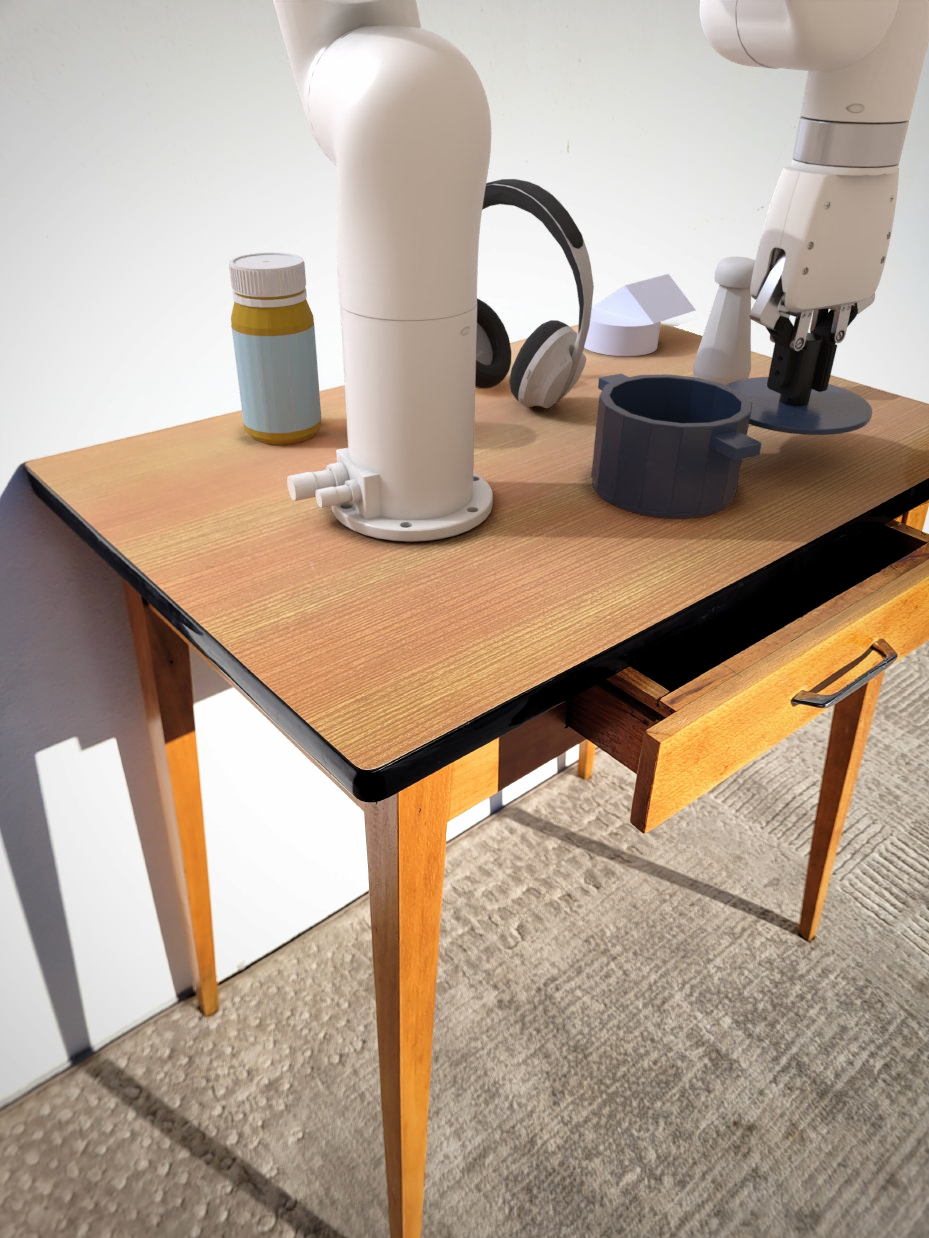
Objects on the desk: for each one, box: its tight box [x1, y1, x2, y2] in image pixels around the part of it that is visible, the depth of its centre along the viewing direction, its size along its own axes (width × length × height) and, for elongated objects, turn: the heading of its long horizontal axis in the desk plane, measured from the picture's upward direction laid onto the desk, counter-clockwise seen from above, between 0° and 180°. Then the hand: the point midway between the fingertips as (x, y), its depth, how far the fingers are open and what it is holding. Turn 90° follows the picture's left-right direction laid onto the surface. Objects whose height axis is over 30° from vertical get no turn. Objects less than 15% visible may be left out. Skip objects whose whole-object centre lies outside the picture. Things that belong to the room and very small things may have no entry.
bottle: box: [228, 251, 322, 445], centre depth 80 cm, size 7×7×15 cm
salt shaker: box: [692, 256, 756, 385], centre depth 92 cm, size 6×6×13 cm
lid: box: [726, 332, 873, 436], centre depth 77 cm, size 13×13×7 cm
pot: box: [590, 373, 762, 519], centre depth 74 cm, size 12×17×8 cm
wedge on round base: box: [584, 273, 697, 357], centre depth 108 cm, size 9×7×13 cm
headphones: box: [475, 178, 595, 409], centre depth 88 cm, size 19×8×20 cm, turn 45°
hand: (796, 388), depth 78 cm, fingers closed on lid, 2 cm apart
